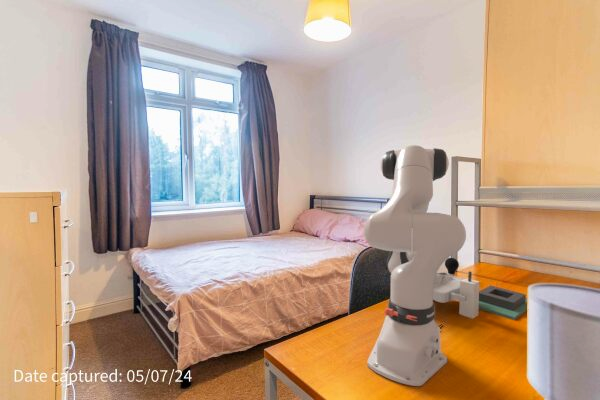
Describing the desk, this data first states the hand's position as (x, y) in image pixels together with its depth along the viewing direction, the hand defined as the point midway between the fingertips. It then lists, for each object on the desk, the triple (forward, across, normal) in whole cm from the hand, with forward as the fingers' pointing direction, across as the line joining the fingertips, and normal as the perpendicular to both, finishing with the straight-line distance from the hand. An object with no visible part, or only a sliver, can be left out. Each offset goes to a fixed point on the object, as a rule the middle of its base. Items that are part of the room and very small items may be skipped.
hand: (471, 295), depth 105 cm
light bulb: (-23, +31, +7) cm, 39 cm away
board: (+2, +18, +7) cm, 20 cm away
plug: (-1, 0, +7) cm, 7 cm away
